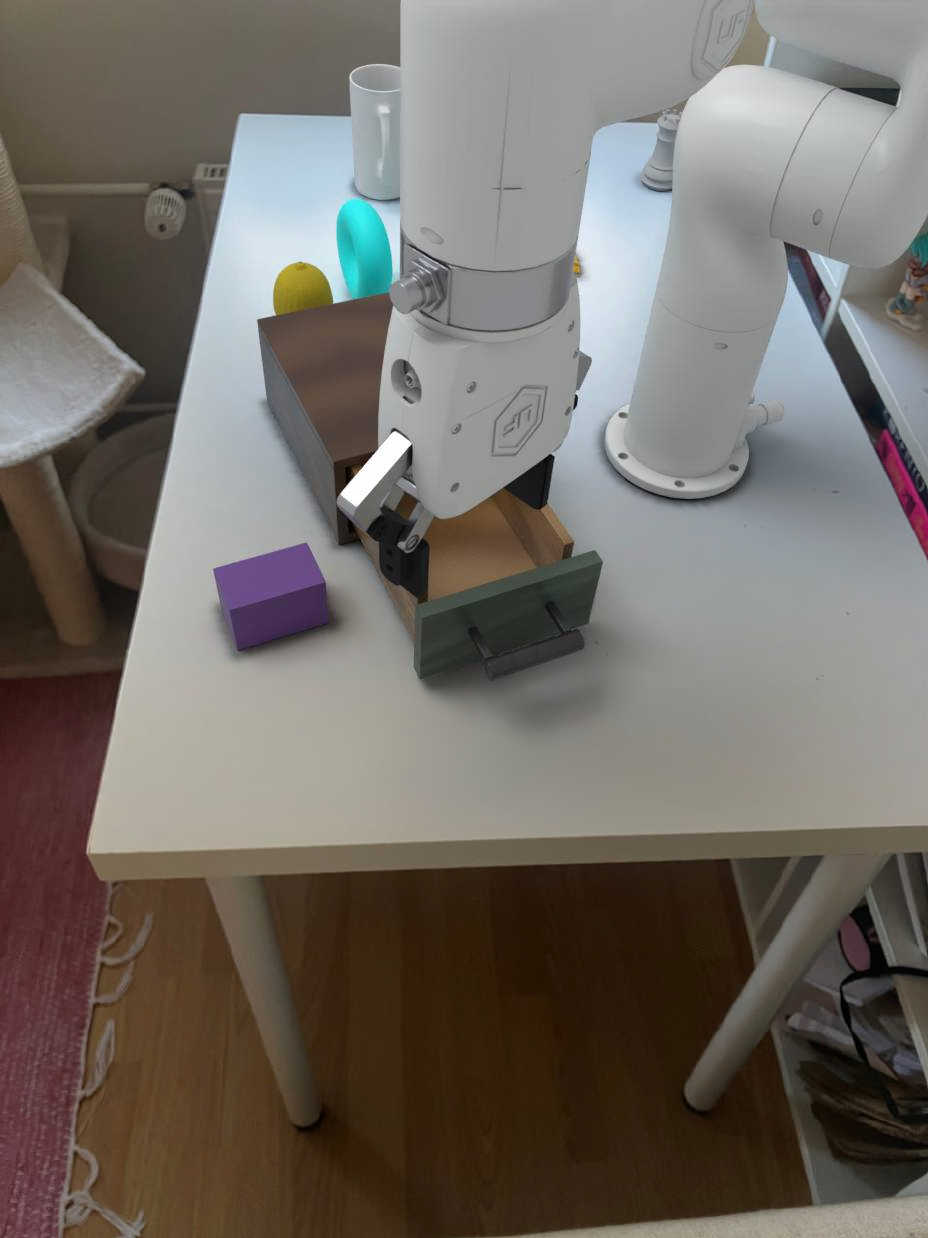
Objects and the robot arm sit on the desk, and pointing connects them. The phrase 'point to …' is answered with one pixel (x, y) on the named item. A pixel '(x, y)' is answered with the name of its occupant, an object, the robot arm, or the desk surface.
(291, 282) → the lemon
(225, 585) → the purple block
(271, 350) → the desk cabinet
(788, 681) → the desk surface
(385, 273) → the donuts
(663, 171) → the rook chess piece
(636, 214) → the desk surface
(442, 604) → the drawer
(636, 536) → the desk surface
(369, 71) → the mug
